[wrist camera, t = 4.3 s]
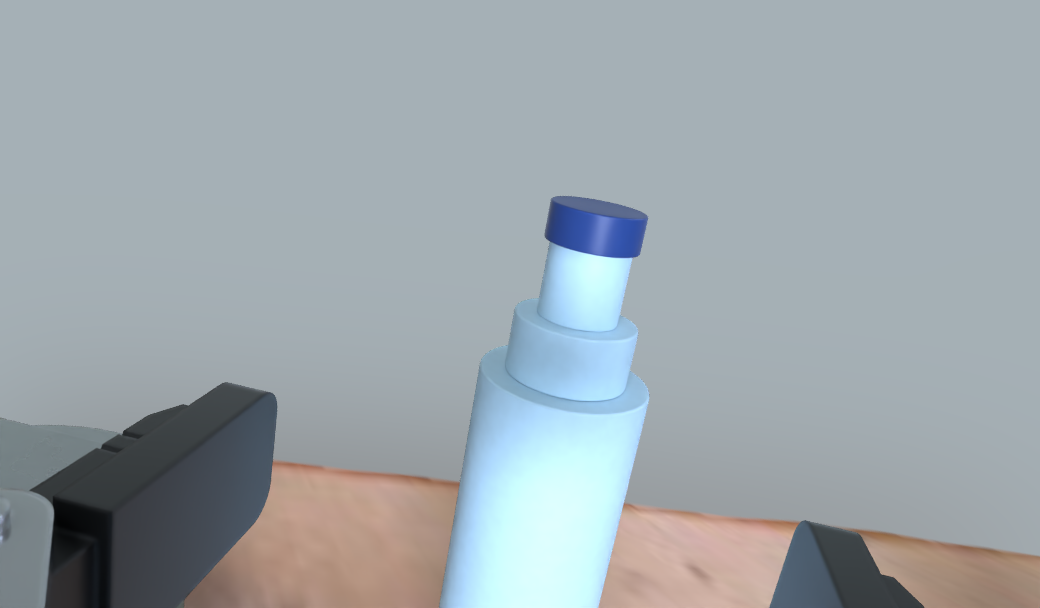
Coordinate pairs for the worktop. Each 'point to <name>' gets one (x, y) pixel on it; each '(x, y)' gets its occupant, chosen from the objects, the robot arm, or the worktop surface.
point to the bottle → (553, 427)
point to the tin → (43, 451)
